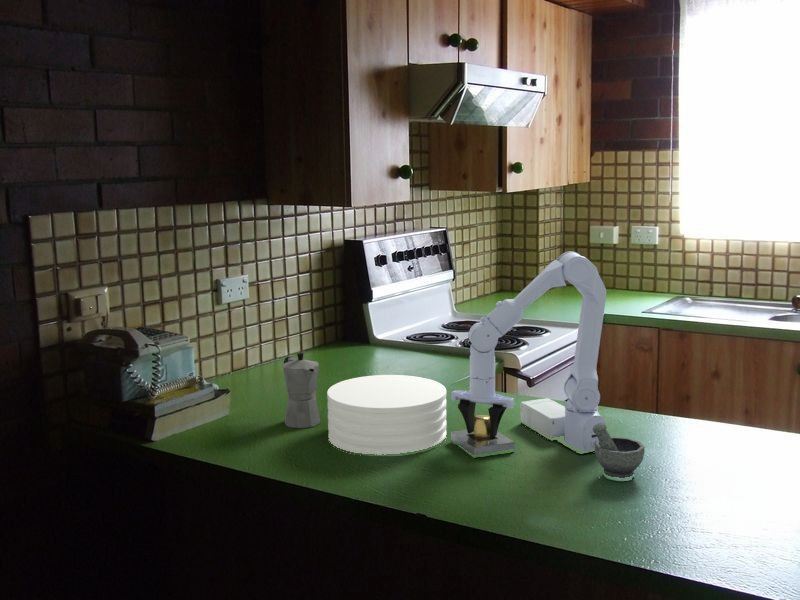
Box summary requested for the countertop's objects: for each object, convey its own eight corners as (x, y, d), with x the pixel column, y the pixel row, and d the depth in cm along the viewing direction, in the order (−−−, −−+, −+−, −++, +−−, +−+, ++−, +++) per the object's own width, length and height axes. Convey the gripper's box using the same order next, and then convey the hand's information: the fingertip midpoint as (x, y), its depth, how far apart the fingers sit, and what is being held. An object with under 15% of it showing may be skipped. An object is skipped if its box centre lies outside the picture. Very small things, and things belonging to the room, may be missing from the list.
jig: (514, 452, 194) (514, 441, 193) (474, 458, 190) (474, 448, 189) (489, 436, 205) (489, 426, 204) (450, 442, 201) (450, 431, 200)
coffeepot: (332, 426, 213) (330, 355, 210) (297, 433, 208) (295, 360, 205) (303, 410, 226) (301, 343, 223) (270, 417, 221) (267, 348, 218)
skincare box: (519, 423, 214) (548, 443, 200) (519, 399, 213) (548, 418, 199) (549, 419, 216) (580, 439, 203) (550, 396, 215) (581, 414, 201)
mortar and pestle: (625, 465, 185) (627, 411, 183) (652, 481, 176) (654, 424, 174) (579, 472, 181) (581, 417, 179) (605, 489, 172) (606, 431, 170)
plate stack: (457, 423, 215) (457, 378, 213) (431, 462, 189) (430, 411, 187) (350, 415, 223) (349, 371, 221) (310, 452, 196) (309, 403, 194)
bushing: (494, 447, 197) (494, 417, 196) (481, 451, 195) (481, 421, 193) (483, 443, 200) (483, 413, 199) (469, 446, 198) (469, 417, 197)
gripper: (519, 375, 194) (518, 433, 197) (460, 368, 201) (460, 424, 204) (507, 383, 188) (506, 443, 191) (447, 375, 195) (447, 433, 198)
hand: (482, 434), depth 197 cm, fingers open, 5 cm apart
